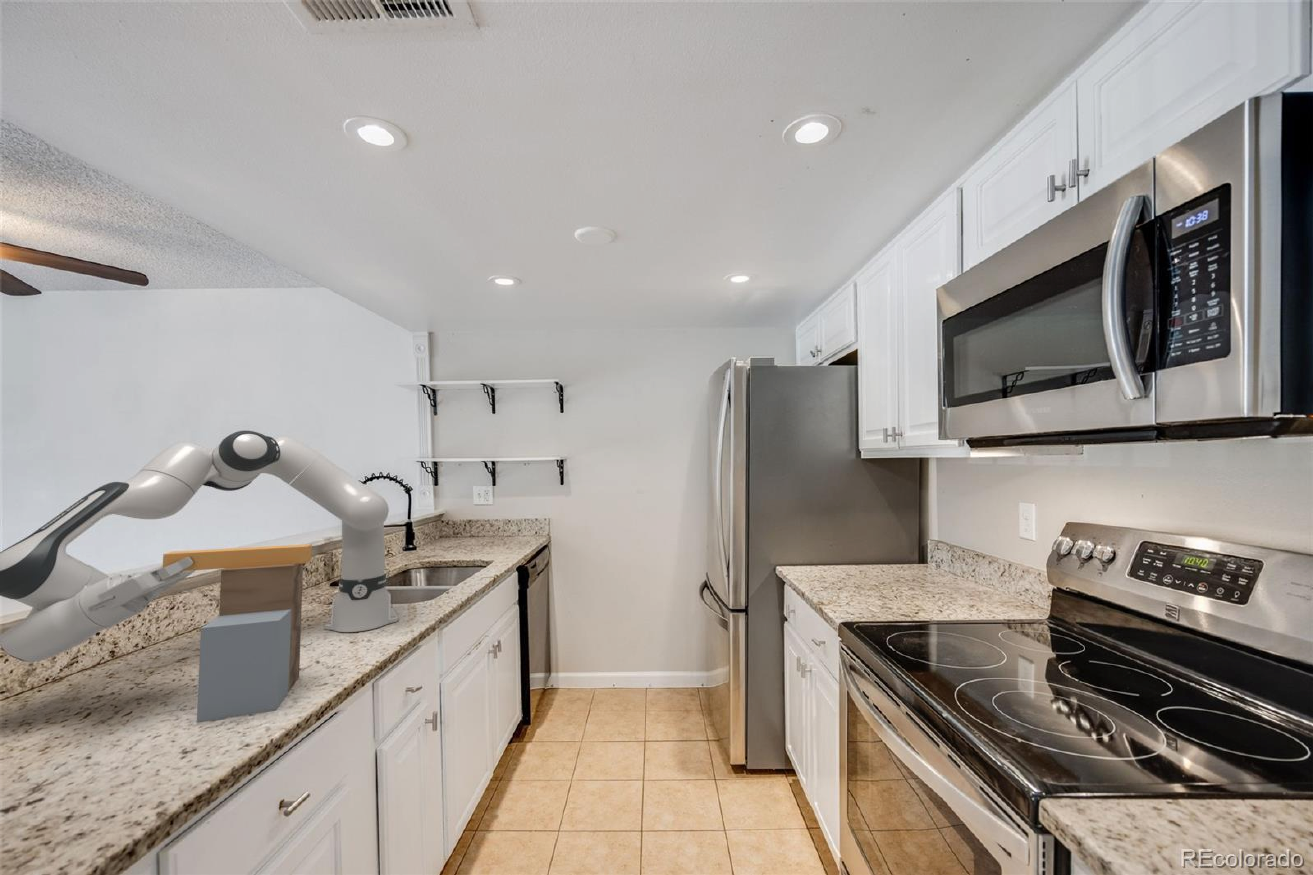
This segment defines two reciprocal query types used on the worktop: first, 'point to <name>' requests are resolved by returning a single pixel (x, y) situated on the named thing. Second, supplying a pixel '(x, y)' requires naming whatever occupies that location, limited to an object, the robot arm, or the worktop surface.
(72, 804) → the worktop surface
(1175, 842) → the worktop surface
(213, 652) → the slate block
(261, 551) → the orange block
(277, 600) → the walnut stand
